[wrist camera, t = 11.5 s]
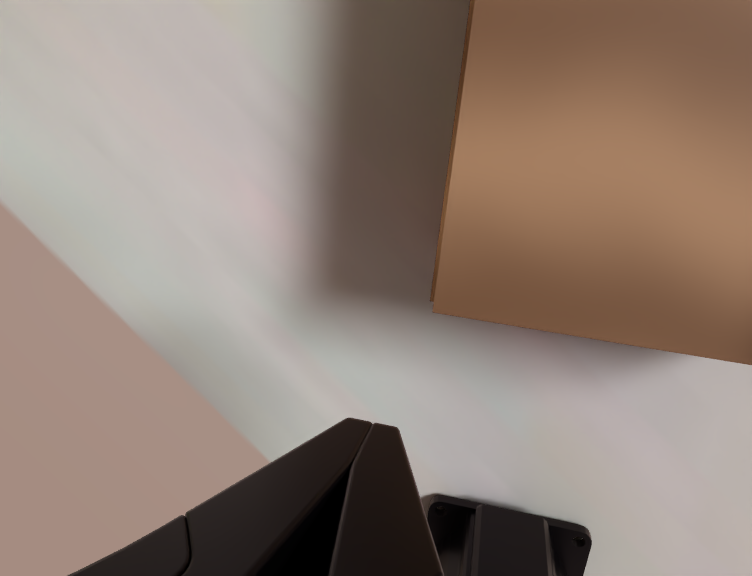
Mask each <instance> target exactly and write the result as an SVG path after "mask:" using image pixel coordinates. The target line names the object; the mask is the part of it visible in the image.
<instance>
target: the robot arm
mask: <svg viewBox="0 0 752 576" xmlns="http://www.w3.org/2000/svg"><path fill="white" fill-rule="evenodd" d="M438 506H442V507H444V508H445V510H440V509H438V508H437V507H438ZM575 537H581V538H583V539H581V540H575V539H573V538H575ZM591 545H592V540H591V535H590V532H589V530H588V529H587V528H586V527H584V526H581V525H578V524H573V523H568V522H564V521H559V520H555V519H550V518H545V517H541V516H536V515H532V514H527V513H522V512H518V511H513V510H508V509H504V508H499V507H495V506H490V505H485V504H481V503H476V502H471V501H467V500H462V499H458V498H453V497H448V496H444V495H438V496H434V497H433V498H432V499H431V501H430V505H429V511H428V517H427V518H426V515H425V512H424V508H423V505H422V502H421V499H420V496H419V492H418V489H417V486H416V483H415V479H414V476H413V473H412V470H411V467H410V463H409V460H408V457H407V454H406V450H405V447H404V444H403V441H402V437H401V434H400V431H399V429H398V428H397V427H394V426H389V425H384V424H379V423H374V424H372V423H371V422H369V421H364V420H359V419H354V418H346V419H344V420H342V421H341V422H339V423H337V424H336V425H334V426H332V427H331V428H329V429H327V430H325V431H324V432H322V433H320V434H319V435H317V436H315V437H314V438H312V439H310V440H308V441H307V442H305V443H303V444H302V445H300V446H298V447H297V448H295V449H293V450H291V451H290V452H288V453H286V454H285V455H283V456H281V457H280V458H278V459H276V460H274V461H273V462H271V463H269V464H268V465H266V466H264V467H263V468H261V469H259V470H258V471H256V472H254V473H252V474H251V475H249V476H247V477H246V478H244V479H242V480H240V481H239V482H237V483H235V484H234V485H232V486H230V487H229V488H227V489H225V490H223V491H222V492H220V493H218V494H217V495H215V496H213V497H212V498H210V499H208V500H207V501H205V502H203V503H201V504H200V505H198V506H196V507H195V508H193V509H191V510H189V511H188V512H186V514H185V516H183V515H181V516H179V517H177V518H176V519H174V520H172V521H170V522H169V523H167V524H166V525H164V526H162V527H160V528H159V529H157V530H155V531H153V532H151V533H149V534H148V535H146V536H144V537H142V538H141V539H139V540H137V541H135V542H133V543H132V544H130V545H128V546H126V547H124V548H122V549H120V550H118V551H116V552H114V553H112V554H110V555H108V556H107V557H104V558H102V559H100V560H98V561H97V562H95V563H92V564H90V565H89V566H86V567H84V568H83V569H80V570H78V571H76V572H74V573H72V574H70V575H68V576H583V574H584V570H585V567H586V563H587V560H588V556H589V552H590V549H591Z"/></svg>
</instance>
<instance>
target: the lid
mask: <svg viewBox="0 0 752 576" xmlns="http://www.w3.org/2000/svg"><path fill="white" fill-rule="evenodd" d="M433 312H434V313H440V314H446V315H452V316H458V317H464V318H470V319H476V320H482V321H488V322H494V323H500V324H506V325H512V326H518V327H524V328H530V329H536V330H542V331H549V332H555V333H561V334H567V335H573V336H579V337H585V338H591V339H597V340H603V341H609V342H615V343H621V344H627V345H633V346H639V347H645V348H651V349H657V350H663V351H669V352H676V353H682V354H688V355H694V356H700V357H706V358H712V359H718V360H724V361H730V362H736V363H742V364H748V365H752V0H475V3H474V11H473V18H472V25H471V33H470V40H469V47H468V55H467V62H466V69H465V77H464V84H463V91H462V99H461V106H460V113H459V121H458V128H457V136H456V143H455V150H454V158H453V165H452V172H451V180H450V187H449V194H448V202H447V209H446V216H445V224H444V231H443V238H442V246H441V253H440V260H439V268H438V275H437V282H436V290H435V297H434V304H433Z"/></svg>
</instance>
